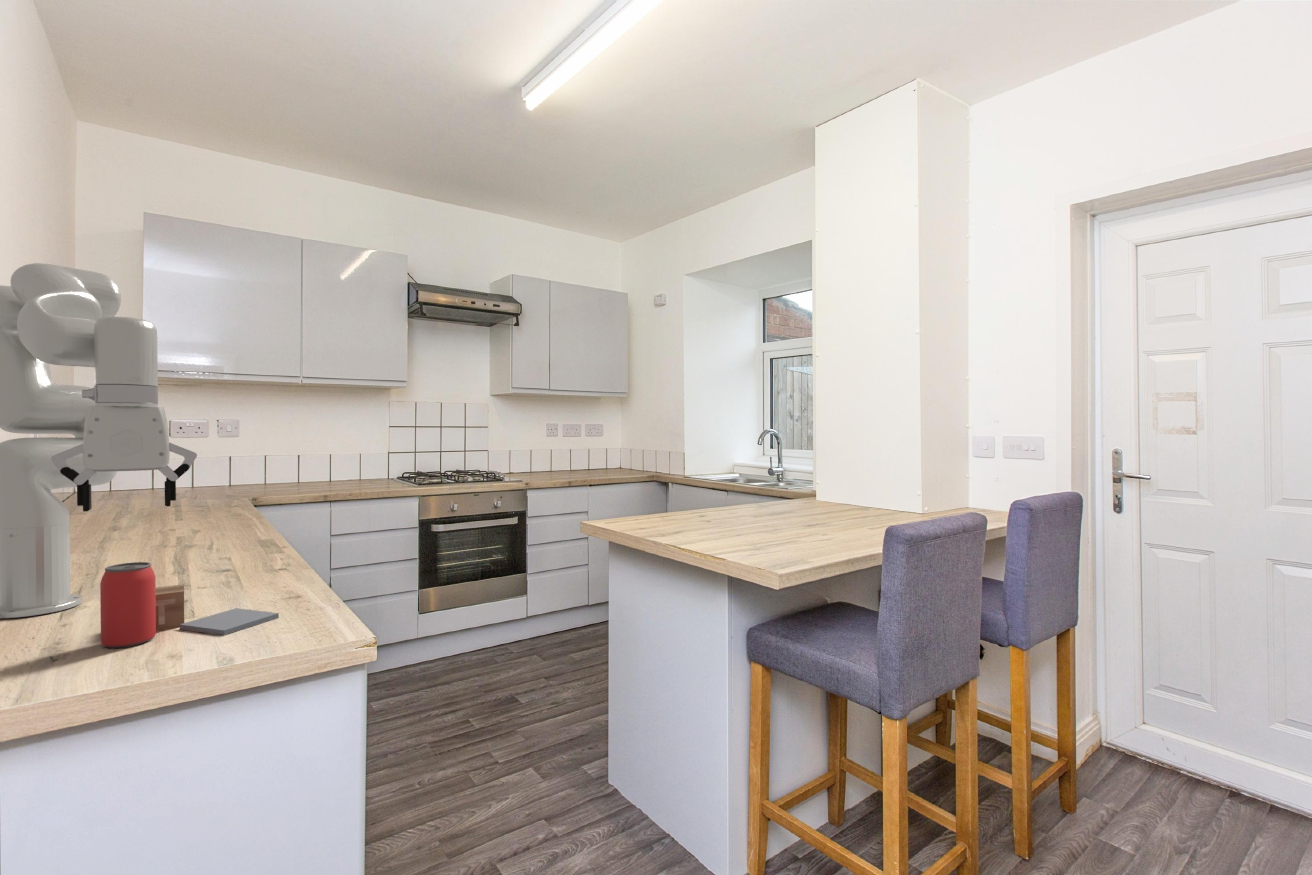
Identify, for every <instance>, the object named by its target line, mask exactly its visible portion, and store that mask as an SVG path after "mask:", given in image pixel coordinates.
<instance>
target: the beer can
mask: <svg viewBox="0 0 1312 875" xmlns="http://www.w3.org/2000/svg"><path fill="white" fill-rule="evenodd" d="M156 587H157V586H156V574H155V571H154V570H153V568H152V563H151V562H146V561H138V562H137V561H136V562H125V563H119V564H112V565H109V566H106V567H105V568H104V573H103V575H102V577H101V581H100V584H99V588H100V590H99V591H100V594H99V595H100V644H101V645H102V646H103V647H105V648H109V649H123V648H124V649H125V648H129V647H134V646H138V645H143V644H145V643H147V642H149V641H151V640H153V639H154V638H155V637H156V634H157V630H156Z"/></svg>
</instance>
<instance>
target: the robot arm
mask: <svg viewBox="0 0 1312 875" xmlns="http://www.w3.org/2000/svg"><path fill="white" fill-rule="evenodd" d="M121 303H122V295H121V290H120V287H119V286H118V284H117V283H116V282H115V281H114V280H113V279H112V278H111V277H110V276H108V275H105V274H103V273H100V272H96V271H90V270H87V269H86V270H85V269H81V268H80V269H78V268H72V267H67V266H62V265H57V264H53V263H52V264H51V263H41V262H40V263H37V262H35V263H28V264H25V265H22V266H19V267H17V269H16V270H14V272H13V273H12V274H11V277H10V285H2V284H1V285H0V429H1V430H3V431H5V432H7V433H8V432H9V433H13V434H25V435H27V434H29V435H30V434H31V435H33V434H34V435H37V434H38V435H40V434H41V435H42V434H43V435H51V434H52V435H59V434H60V435H61V434H62V435H65V434H67V435H72V436H73V437H54V436H53V437H52V436H51V437H50V436H49V437H45V436H44V437H20V438H19V437H18V438H11V439H7V440H5V441H4V440H3V441H2V442H0V619H16V618H27V617H33V616H34V617H35V616H39V615H41V616H42V615H46V614H51V613H55V612H61V611H65V610H68V609H71V608H74V607H76V606H79V605H80V604H81V603H82V601H83V600H82V598H83V597H82V596H81V595H79V594H74V593H73V594H71V531H70V530H71V529H70V528H71V527H70V526H71V525H70V524H71V523H70V522H71V521H70V519H71V518H70V512H69V509H68V506H67V505H66V504H65V503H64V502H63V501H62V500H60V498H58V497H57V496H56V495H55V494H53V492H52V491H51V490H55V489H56V490H57V489H62V488H63V489H66V488H76V506H78V507H82V512H83V513H84V512H89V511H91V510H92V487H93V486H102V485H106V484H108V483H109V482H112V481H113V479H114V478H115V477H116V475H117V472H132V471H133V472H136V471H137V472H138V471H155V470H156V471H157V470H158V471H159V472H160V473H161V474H162V475H163V476H164V477H165V480H166V481H164V506H166V507H171V505H172V504H171V503H172V501H173V502H174V501H177V483H176V482H177V480H179V478H181V477H182V476H183V475H184V474H185V473H186V472H188V471H189V470H190V469H191V466H192V465H193V463H194V461H195V460H196V459H197V456H198V454H197V452H194V451H192V450H189V449H187V448H184V447H182V446H179V445H177V444H175V443H172V442H170V438H169V437H170V436H169V427H168V421H167V415H166V411H165V407H161V406H159V379H158V378H159V376H158V375H159V374H158V373H159V371H158V370H159V369H158V368H159V367H158V331H157V328H156V326H155V324H154V323H152V322H151V321H149V320H145V319H142V318H137V317H127V316H116V315H117V313H118V312H119V310H120V306H121ZM50 365H54V366H66V367H83V368H94V385H93V387H90V386H85V385H71V384H70V385H69V384H58V383H56V382H54V381H53V377H52V374H51V367H50ZM170 452H172V453H174V454H175V455H178V456H182V457H183V458H184V459H183V461H182V463H181V464H180V465H179V466H178V467H177V468H176V469H172V468H171V467H170V466H169V463H170V455H171V454H170Z"/></svg>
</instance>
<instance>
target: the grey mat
mask: <svg viewBox="0 0 1312 875" xmlns="http://www.w3.org/2000/svg"><path fill="white" fill-rule="evenodd" d="M276 619H279V612H271V611H263V610H255V609H254V610H253V609H246V608H237V607H236V608H232V609H229V610H225V611H221V612H218V613H215V614H212V615H211V614H210V615H208V616H205V617H204V616H203V617H201V618H198V619H193V620H190V621H187V622H184V623H183V624H180V627H179V630H183V631H189V632H190V631H191V632H199V633H205V634H213V635H220V636H227V635H229V634H233V633H237V632H239V631H242V630H245V629H248V628H251V627H254V626H257V625H260V624H263V623H267V622H269V621H273V620H276Z"/></svg>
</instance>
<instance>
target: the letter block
mask: <svg viewBox="0 0 1312 875" xmlns="http://www.w3.org/2000/svg"><path fill="white" fill-rule="evenodd" d="M183 623H185V585H184V584H183V583H182V584H175V585H166V586H158V587H157V586H156V631H160V630H166V629H167V630H168V629H174V628H180V624H183Z"/></svg>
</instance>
